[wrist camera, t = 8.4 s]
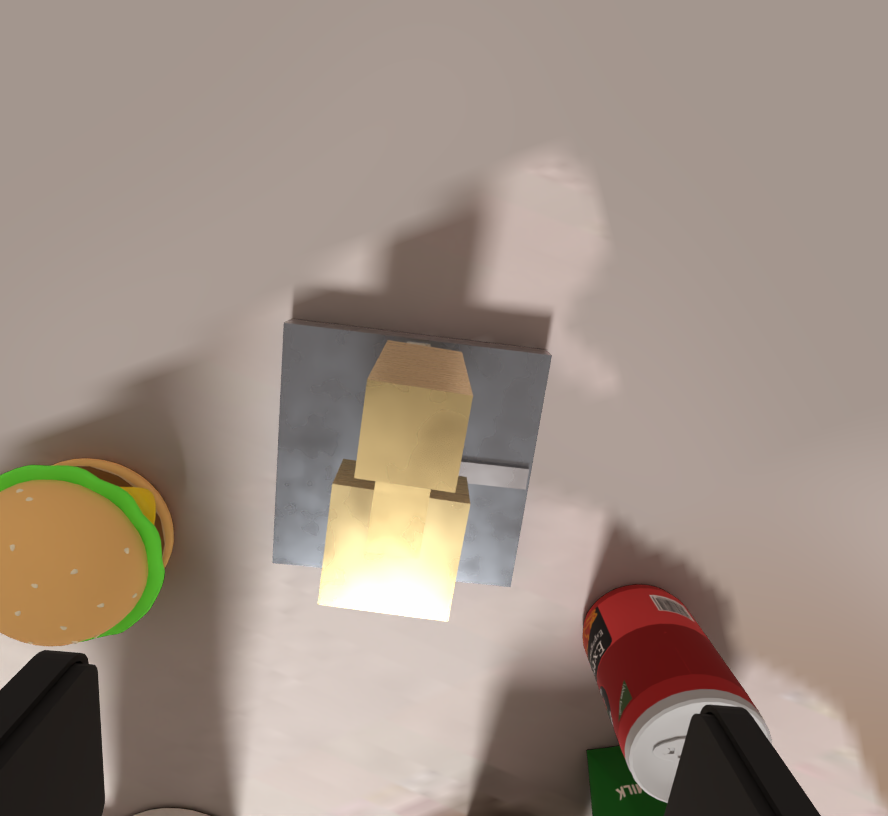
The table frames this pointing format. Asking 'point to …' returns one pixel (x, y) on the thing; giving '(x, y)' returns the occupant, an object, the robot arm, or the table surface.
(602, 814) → the milk carton
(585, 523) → the table surface
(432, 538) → the wooden zigzag joint
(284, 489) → the grey slotted plate
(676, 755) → the canned food
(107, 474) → the hamburger
